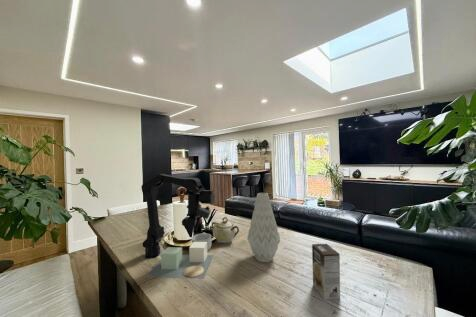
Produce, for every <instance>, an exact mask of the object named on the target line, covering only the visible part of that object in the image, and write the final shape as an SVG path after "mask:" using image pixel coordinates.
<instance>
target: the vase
mask: <svg viewBox="0 0 476 317" xmlns="http://www.w3.org/2000/svg"><path fill="white" fill-rule="evenodd" d="M246 239H247V241H248V243H249V246H250V247H249V248H250V250H251V252H252V254H253V255H254V257H255V260H256V261H257V262H261V263H269V262H271V261H273V259H274V257H275V256H276V254H277V251H278V247H279V244H280V242H281V236H280V233H279V230H278V224H277V222H276V219H275V214H274V211H273V207H272V203H271V200H270V196H269V193H268V192H267V193H266V192H260V193H259V192H258V193H257V194H256V199H255V203H254V208H253V211H252V217H251V220H250V226H249V229H248V233H247V238H246Z"/></svg>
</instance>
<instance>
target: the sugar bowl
mask: <svg viewBox="0 0 476 317" xmlns="http://www.w3.org/2000/svg"><path fill="white" fill-rule="evenodd" d="M225 219H226V220H225ZM228 220H229V219H228V217H227V216H224V217H223V218H222V221H221V222H216V221H213V222H212V223H211V228H212V235H213V237H214V238H215V240H216V241H217V242H218V243H219V244H230V243H232V242H233V240H234V238H236V236H237V235H238V233H239V232H240V229H239V227H238V226H237V225H235V224H234V223H232V222H230V221H228Z"/></svg>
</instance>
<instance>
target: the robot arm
mask: <svg viewBox="0 0 476 317" xmlns="http://www.w3.org/2000/svg"><path fill="white" fill-rule="evenodd" d="M201 182H202V181H201V179H200V178H198V177H181V176H175V175H171V174H166V173H160V174H157V175H155V177H153V178H151V179H149V180H148V181H146V182H144V183H143V184H141V186H140V188H141V191H142V195H143V196H144V197H145V200H146V208H147V217H148V229H147V232H146V239H145V240H144V241H143V242H142V247H143V248H145V249H144V252H145V255H144V259H156V258H157V257H158V256H159V255H161V254H162V252H161V246H160V243H161V241H162V239H163V238H164V236H165V227H164V226H161V224H160V219H159V218H160V217H159V208H158V202H157V196H158V194H159V188H160V186H162V185H163V183H165V184H166V183H167V184H171V185H176V186H180V187H183V188H184V189H186V191H184V192H183V195H187V205H186V209H187V214H186V216H185V217H184V218H183V219H182V220H181V225H182V226H183V227H184V229H185V230H186V232H187V235H188V237H189V238H192V237H193V236H194V235H193V234H194V231H196V232H197V231H198V229H199V228H198V227H199V224H200V220H201V219H202V218H204V219H207V220H208V219H209V217H210V214H211V212H212V211H211V210H210V206H206V207H202V205H203V204H204V205H205V204H206V205H207V204H208V205H214V203H215V198H216V197H215V194H214V190H213V189H209V190H207V189H205V187H204V186H203V185H202V183H201Z"/></svg>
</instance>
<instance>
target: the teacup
mask: <svg viewBox="0 0 476 317" xmlns="http://www.w3.org/2000/svg"><path fill="white" fill-rule="evenodd" d="M193 242H207V252H209V250H210V249H211V248H212V234H210V233H206V232H202V233H197V234H195V235H192V237H191V244H192V243H193Z"/></svg>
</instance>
